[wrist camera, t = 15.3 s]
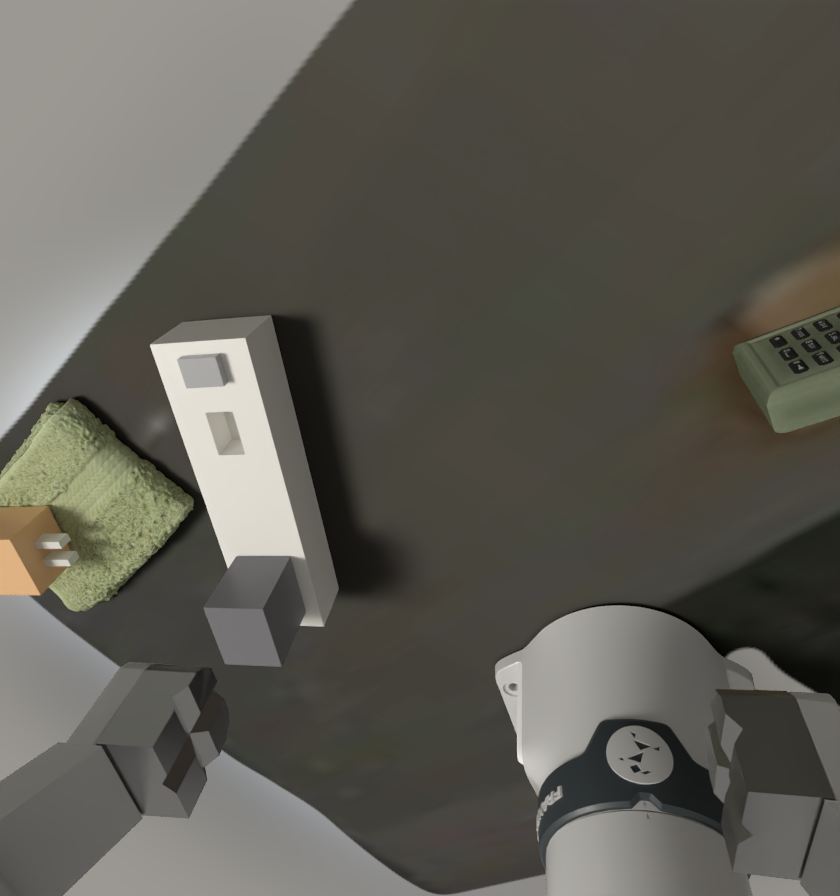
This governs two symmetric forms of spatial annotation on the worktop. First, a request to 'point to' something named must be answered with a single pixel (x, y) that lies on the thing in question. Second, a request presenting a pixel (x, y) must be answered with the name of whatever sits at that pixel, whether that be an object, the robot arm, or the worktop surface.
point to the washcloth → (93, 500)
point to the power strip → (248, 447)
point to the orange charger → (31, 550)
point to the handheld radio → (795, 371)
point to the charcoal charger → (256, 611)
